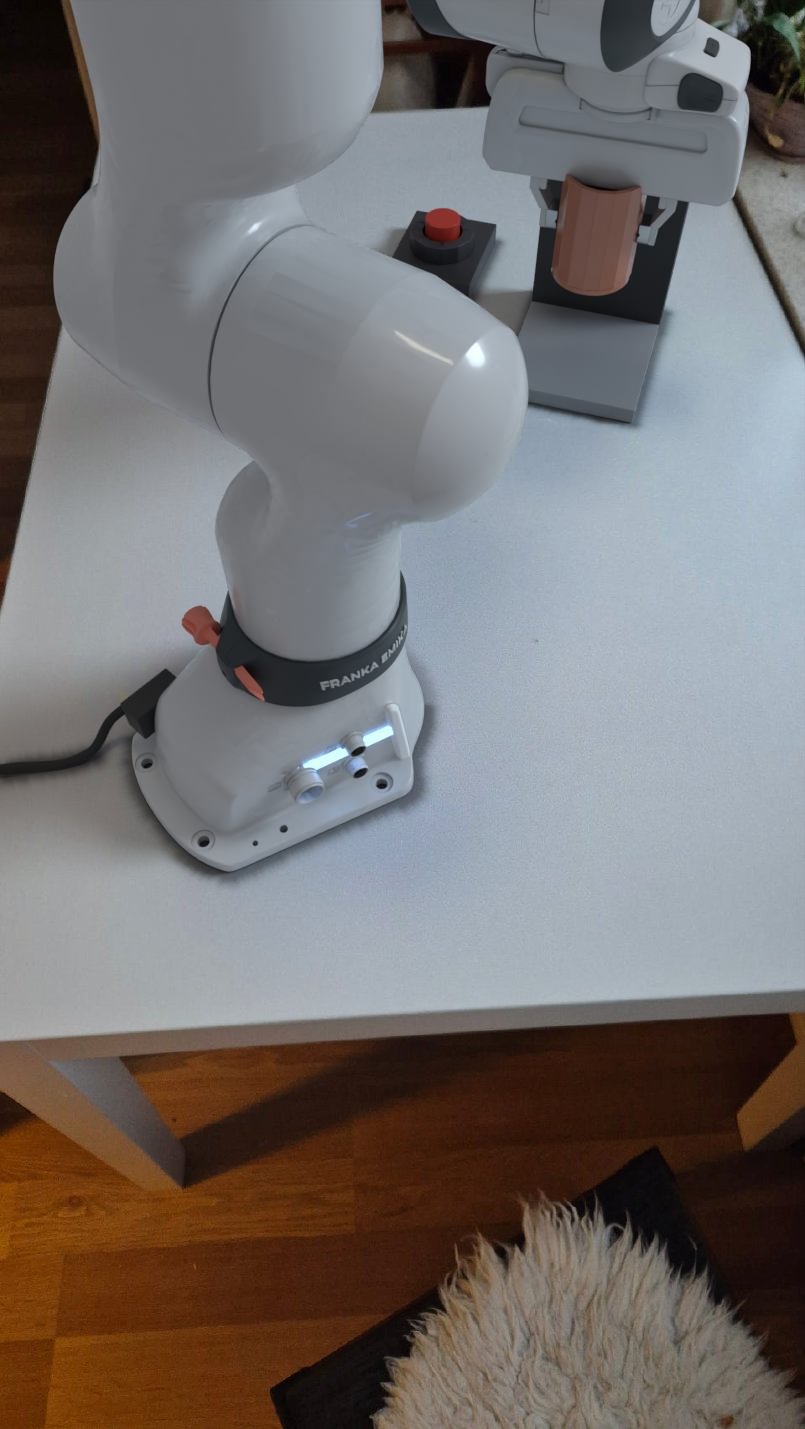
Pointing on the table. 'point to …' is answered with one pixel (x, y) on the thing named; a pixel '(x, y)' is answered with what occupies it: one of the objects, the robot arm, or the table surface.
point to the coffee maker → (598, 327)
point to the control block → (449, 252)
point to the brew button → (442, 225)
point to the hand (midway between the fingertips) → (598, 232)
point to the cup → (596, 237)
